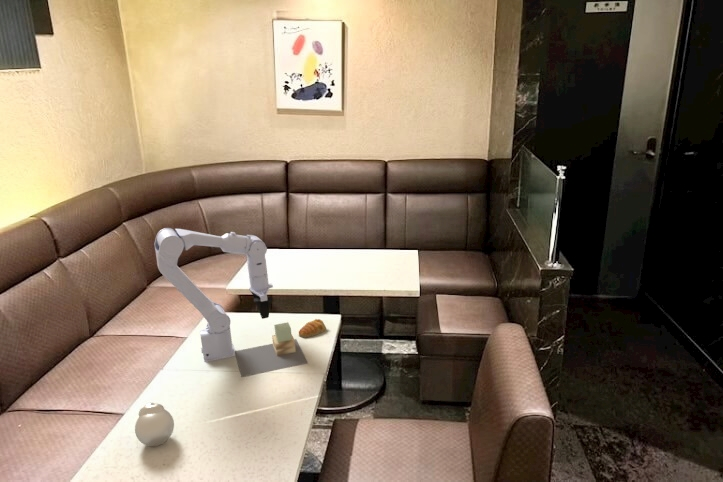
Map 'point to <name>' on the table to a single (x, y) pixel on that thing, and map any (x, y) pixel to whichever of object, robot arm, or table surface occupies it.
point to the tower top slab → (283, 343)
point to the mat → (267, 359)
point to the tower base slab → (284, 350)
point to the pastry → (312, 328)
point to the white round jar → (154, 425)
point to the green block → (283, 332)
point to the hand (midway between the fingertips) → (263, 312)
